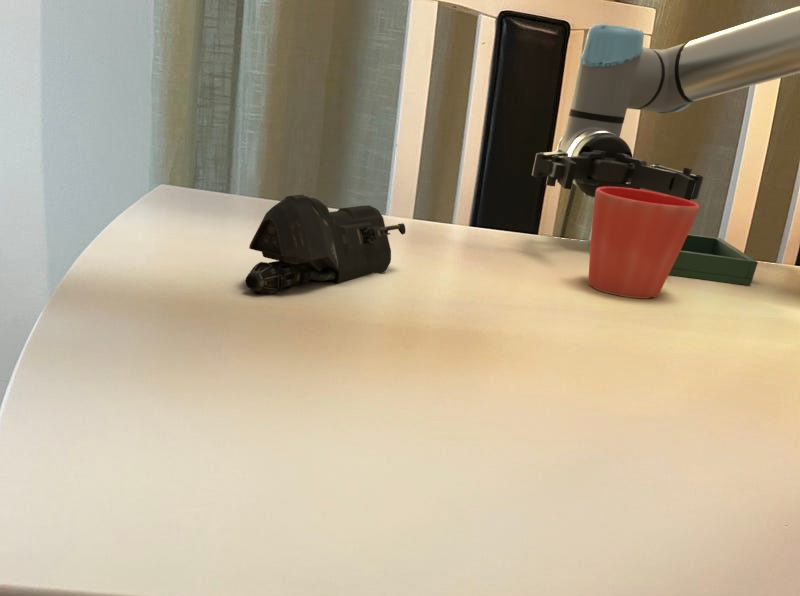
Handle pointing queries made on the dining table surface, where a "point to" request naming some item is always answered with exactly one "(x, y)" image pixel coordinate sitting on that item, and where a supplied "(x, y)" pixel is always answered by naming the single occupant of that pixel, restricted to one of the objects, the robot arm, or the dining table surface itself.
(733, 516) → the dining table surface
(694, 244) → the plant tray
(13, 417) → the dining table surface
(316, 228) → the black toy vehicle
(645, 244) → the flower pot
